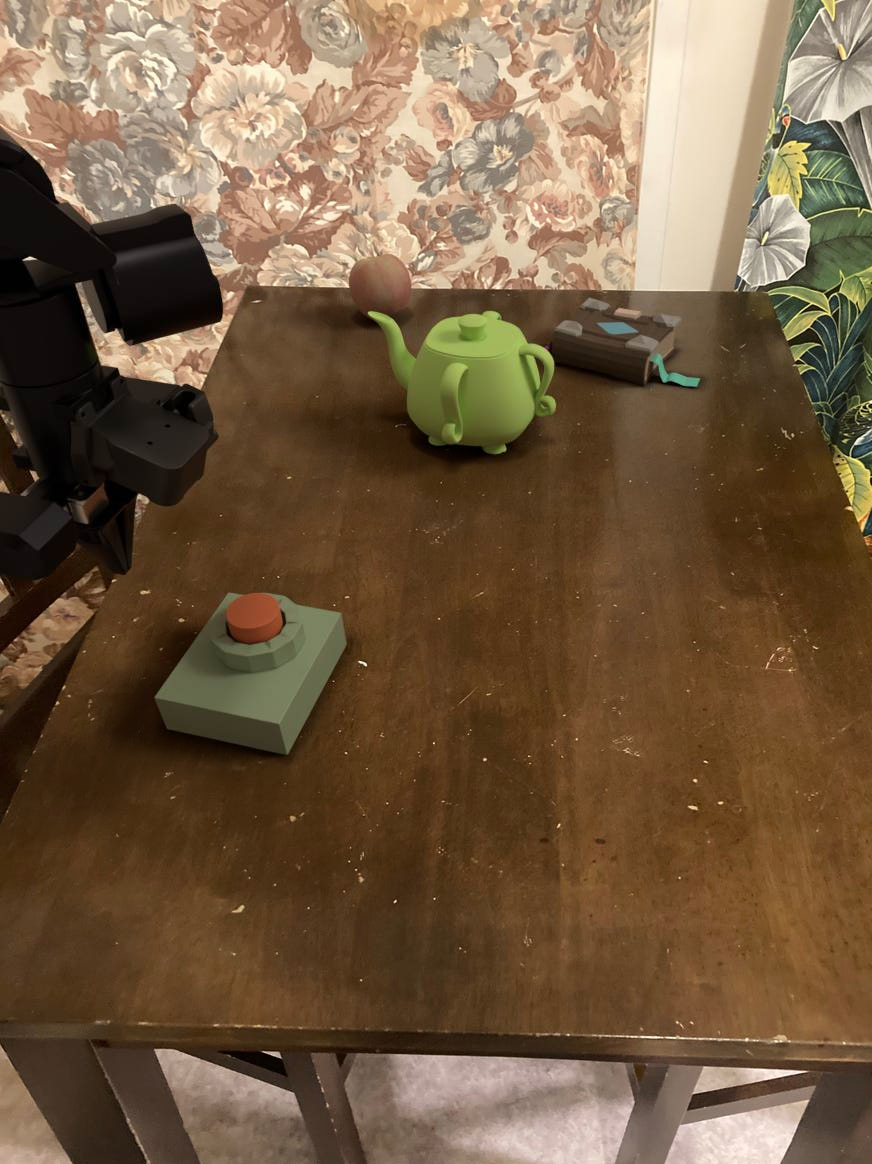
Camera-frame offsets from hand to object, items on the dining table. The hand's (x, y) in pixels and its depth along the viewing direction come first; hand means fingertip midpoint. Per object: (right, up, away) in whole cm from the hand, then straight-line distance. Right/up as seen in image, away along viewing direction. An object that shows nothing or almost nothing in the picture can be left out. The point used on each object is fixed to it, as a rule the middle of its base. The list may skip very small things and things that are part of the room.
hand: (122, 571), depth 63 cm
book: (+43, +29, +46) cm, 70 cm away
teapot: (+23, +18, +35) cm, 46 cm away
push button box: (+8, -8, +8) cm, 14 cm away
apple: (+12, +37, +55) cm, 68 cm away
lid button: (+8, -4, +6) cm, 11 cm away
